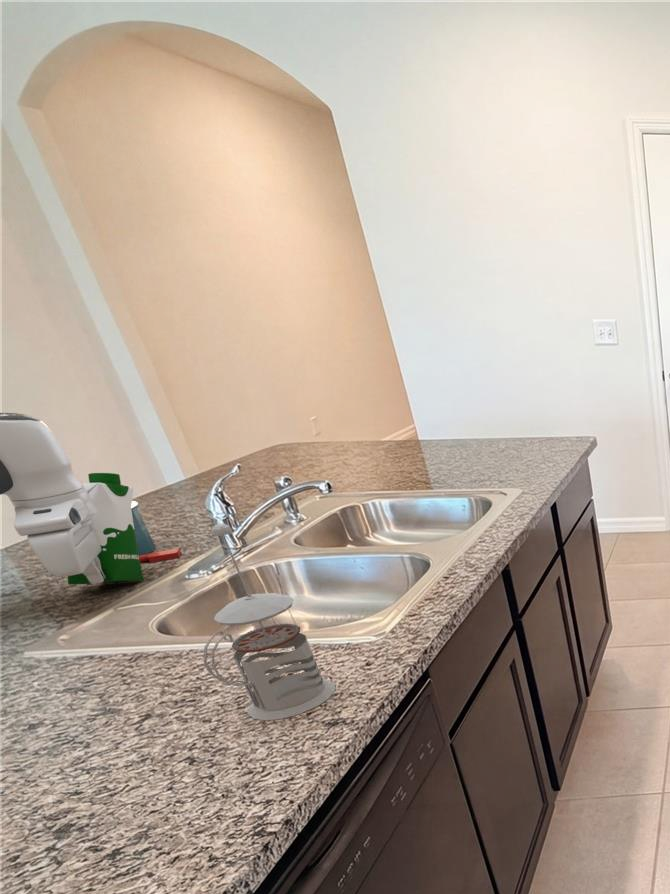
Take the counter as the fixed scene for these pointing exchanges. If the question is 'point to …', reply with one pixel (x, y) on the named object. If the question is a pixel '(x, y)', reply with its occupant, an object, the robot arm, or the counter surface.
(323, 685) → the french press
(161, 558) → the red long bar
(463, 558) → the counter surface
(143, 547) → the pot
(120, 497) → the milk carton
